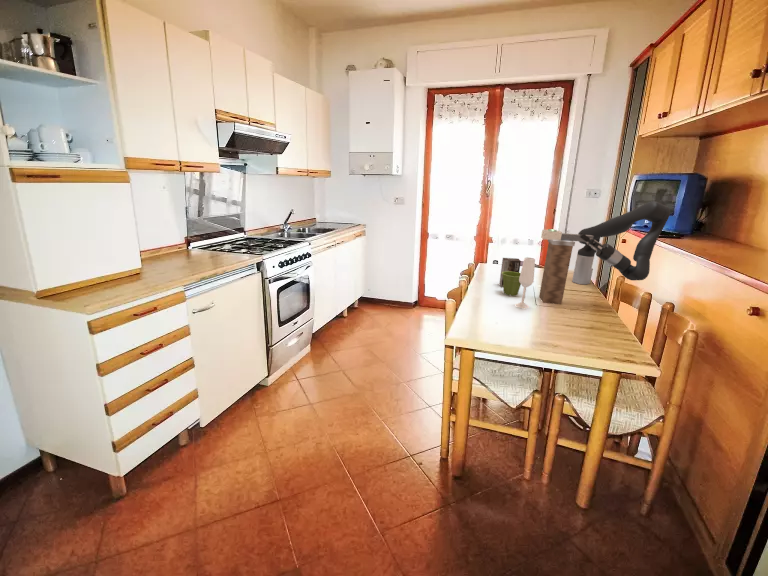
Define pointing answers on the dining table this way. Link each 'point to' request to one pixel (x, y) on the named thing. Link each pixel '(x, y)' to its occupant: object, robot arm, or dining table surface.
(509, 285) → the plant pot
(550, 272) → the anvil stand
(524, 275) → the champagne flute
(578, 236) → the block
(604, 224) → the robot arm
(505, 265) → the coffee box
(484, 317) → the dining table surface
